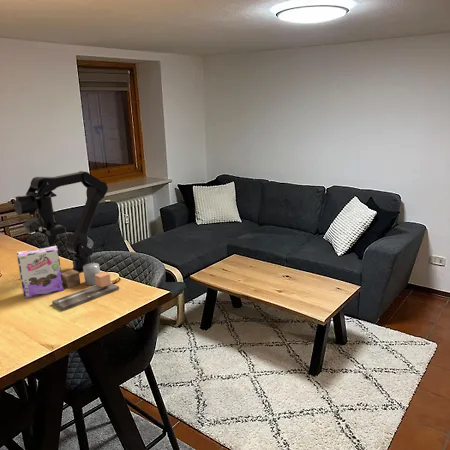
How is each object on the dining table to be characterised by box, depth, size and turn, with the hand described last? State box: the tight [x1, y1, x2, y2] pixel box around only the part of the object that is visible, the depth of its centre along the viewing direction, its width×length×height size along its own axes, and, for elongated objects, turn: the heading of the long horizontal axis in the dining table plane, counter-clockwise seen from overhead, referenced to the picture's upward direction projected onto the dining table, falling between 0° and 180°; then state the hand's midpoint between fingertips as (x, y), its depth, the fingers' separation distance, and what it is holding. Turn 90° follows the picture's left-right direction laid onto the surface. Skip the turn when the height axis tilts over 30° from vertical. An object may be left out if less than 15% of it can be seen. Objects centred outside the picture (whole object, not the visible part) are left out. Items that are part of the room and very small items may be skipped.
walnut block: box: [61, 268, 82, 289], centre depth 163 cm, size 5×5×5 cm
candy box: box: [16, 245, 65, 299], centre depth 155 cm, size 14×6×16 cm, turn 117°
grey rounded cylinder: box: [82, 262, 101, 287], centre depth 164 cm, size 6×6×7 cm
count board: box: [51, 281, 120, 311], centre depth 152 cm, size 22×8×2 cm, turn 138°
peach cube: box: [94, 271, 112, 288], centre depth 156 cm, size 4×4×4 cm
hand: (50, 247), depth 166 cm, fingers closed
